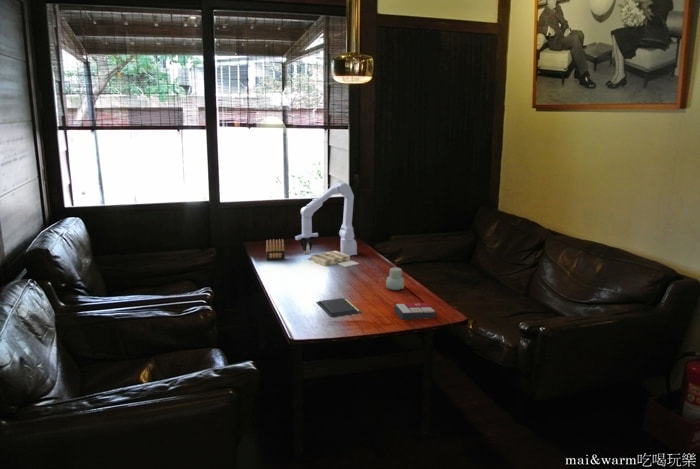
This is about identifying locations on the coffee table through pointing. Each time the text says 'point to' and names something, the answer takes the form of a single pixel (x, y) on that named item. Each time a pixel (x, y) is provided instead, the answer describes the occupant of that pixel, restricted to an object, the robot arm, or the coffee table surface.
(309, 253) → the metal cylinder
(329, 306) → the dark grey flat slab
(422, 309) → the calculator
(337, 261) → the socket block
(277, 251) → the ammunition clip
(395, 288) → the air freshener
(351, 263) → the mat
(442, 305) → the coffee table surface
